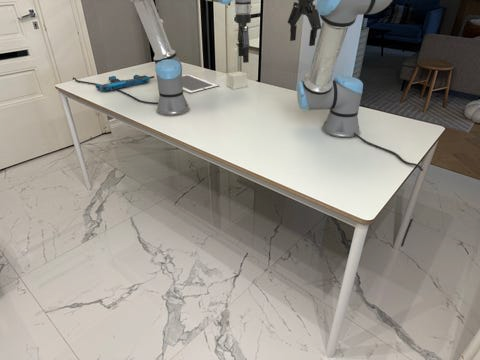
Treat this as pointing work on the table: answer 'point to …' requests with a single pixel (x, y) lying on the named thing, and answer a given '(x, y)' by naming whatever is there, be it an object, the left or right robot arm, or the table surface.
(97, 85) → the submachine gun
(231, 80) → the block
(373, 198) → the table surface
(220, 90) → the table surface
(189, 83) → the tablet
